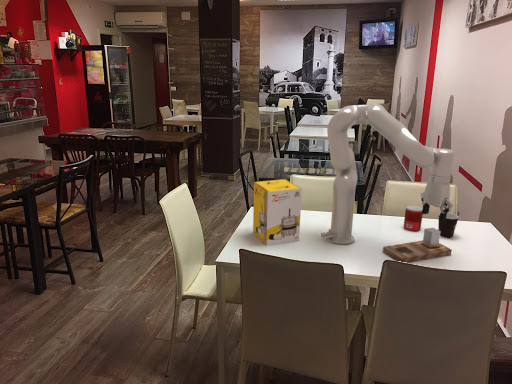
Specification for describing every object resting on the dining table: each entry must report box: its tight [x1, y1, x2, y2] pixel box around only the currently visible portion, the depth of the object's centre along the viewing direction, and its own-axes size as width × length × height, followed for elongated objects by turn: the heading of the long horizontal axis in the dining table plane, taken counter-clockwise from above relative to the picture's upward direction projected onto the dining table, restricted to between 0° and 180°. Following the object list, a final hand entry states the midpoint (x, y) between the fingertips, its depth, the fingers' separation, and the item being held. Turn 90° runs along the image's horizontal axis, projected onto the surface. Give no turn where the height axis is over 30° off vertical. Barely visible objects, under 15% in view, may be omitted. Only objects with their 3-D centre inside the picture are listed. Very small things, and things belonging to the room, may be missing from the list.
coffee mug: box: [437, 212, 459, 239], centre depth 198 cm, size 12×9×10 cm
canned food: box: [403, 205, 424, 232], centre depth 205 cm, size 8×8×11 cm
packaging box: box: [252, 178, 303, 246], centre depth 191 cm, size 16×16×25 cm
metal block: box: [422, 227, 441, 249], centre depth 180 cm, size 4×4×10 cm
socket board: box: [382, 239, 453, 264], centre depth 178 cm, size 26×12×3 cm, turn 111°
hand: (433, 217), depth 177 cm, fingers open, 9 cm apart
